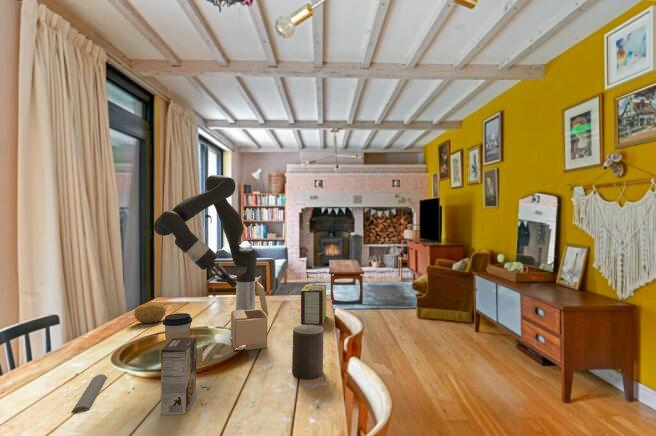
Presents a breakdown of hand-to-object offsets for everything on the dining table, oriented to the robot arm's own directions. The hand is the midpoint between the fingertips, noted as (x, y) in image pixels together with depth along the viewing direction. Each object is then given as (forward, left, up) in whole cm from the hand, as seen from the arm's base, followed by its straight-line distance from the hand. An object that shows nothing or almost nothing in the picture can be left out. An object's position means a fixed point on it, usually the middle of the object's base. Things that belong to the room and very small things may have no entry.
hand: (235, 285), depth 137 cm
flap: (0, +11, -11) cm, 16 cm away
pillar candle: (+33, +19, -23) cm, 45 cm away
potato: (-43, -34, -23) cm, 59 cm away
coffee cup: (+9, -20, -23) cm, 32 cm away
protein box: (-23, +39, -23) cm, 51 cm away
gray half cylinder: (+26, -41, -23) cm, 54 cm away
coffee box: (+41, -18, -23) cm, 50 cm away
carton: (0, +5, -23) cm, 23 cm away
